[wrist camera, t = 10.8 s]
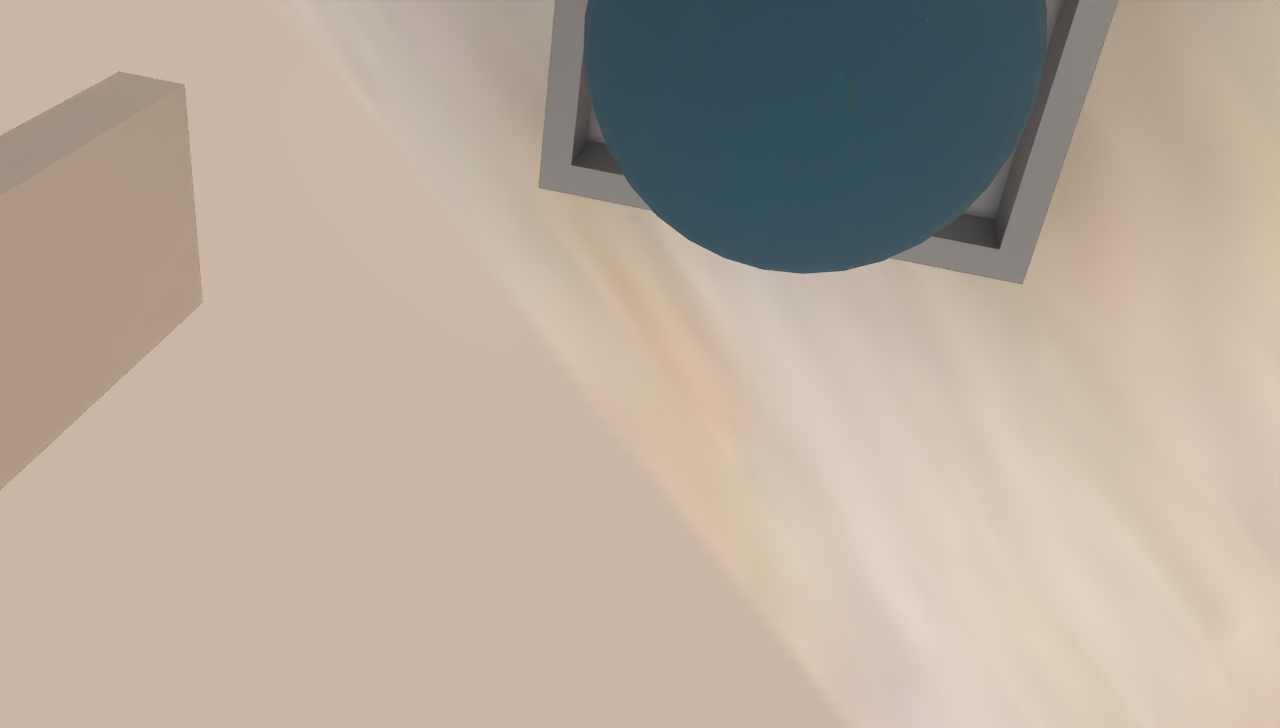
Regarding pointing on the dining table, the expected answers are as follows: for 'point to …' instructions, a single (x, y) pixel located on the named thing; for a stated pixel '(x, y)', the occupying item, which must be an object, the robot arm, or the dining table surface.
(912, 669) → the dining table surface
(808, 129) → the light bulb
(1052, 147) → the parts tray
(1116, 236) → the dining table surface
